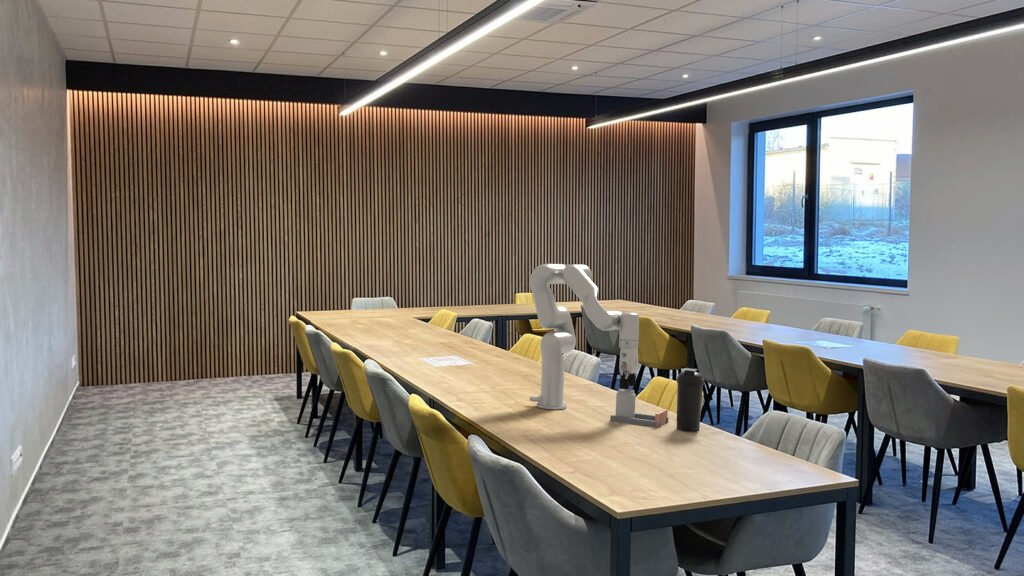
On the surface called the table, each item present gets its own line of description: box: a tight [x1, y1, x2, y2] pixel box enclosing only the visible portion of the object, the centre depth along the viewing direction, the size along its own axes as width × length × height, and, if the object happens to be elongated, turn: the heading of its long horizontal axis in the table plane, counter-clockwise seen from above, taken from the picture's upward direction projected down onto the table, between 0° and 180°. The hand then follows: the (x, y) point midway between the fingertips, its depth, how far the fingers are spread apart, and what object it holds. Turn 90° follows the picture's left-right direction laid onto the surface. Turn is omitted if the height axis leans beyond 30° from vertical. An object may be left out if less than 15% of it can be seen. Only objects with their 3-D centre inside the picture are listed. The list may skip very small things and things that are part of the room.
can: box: [615, 388, 637, 418], centre depth 338 cm, size 8×8×12 cm
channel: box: [609, 408, 670, 428], centre depth 335 cm, size 20×11×5 cm, turn 63°
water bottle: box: [676, 367, 705, 433], centre depth 324 cm, size 10×10×23 cm
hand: (627, 387), depth 337 cm, fingers open, 9 cm apart
